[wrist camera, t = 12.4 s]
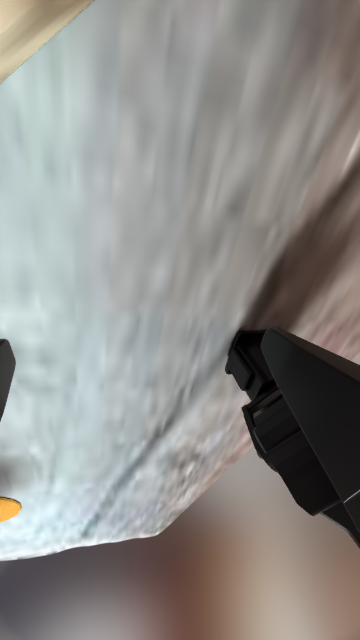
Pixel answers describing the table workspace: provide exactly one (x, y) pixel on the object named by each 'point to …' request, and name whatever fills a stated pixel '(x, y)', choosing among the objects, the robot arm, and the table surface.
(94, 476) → the table surface
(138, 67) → the table surface
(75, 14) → the birch board
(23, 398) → the table surface
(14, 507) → the cup
